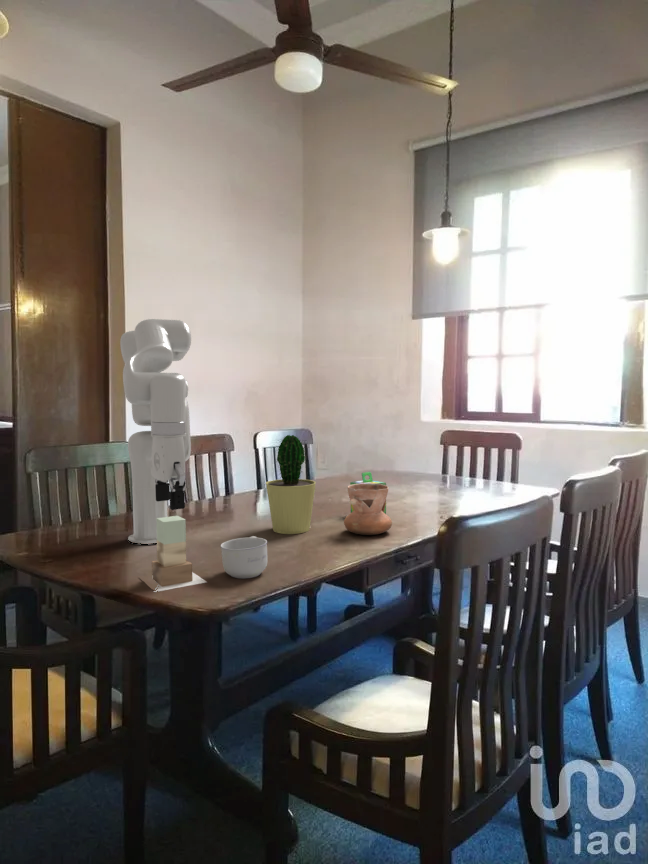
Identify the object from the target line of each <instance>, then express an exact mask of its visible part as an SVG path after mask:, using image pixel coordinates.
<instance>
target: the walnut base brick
mask: <svg viewBox="0 0 648 864" xmlns="http://www.w3.org/2000/svg"><path fill="white" fill-rule="evenodd" d="M192 572H193V563H192V562H190V561H189V560H187V559H186V563H185V564H179V565H173V566H167V567H164V566H163V565H161V564H160V563H158V562H157V560H152V561H151V575H152V579H153V580H155V581H156V582H157V583H158V584H159V585H161V586H162V587H163V586H169V585H174V584H179V583H185V582H190V581H193V580H192Z"/></svg>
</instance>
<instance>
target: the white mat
mask: <svg viewBox="0 0 648 864" xmlns="http://www.w3.org/2000/svg"><path fill="white" fill-rule="evenodd" d="M192 580H193V581H190V582H185V583H179V584H174V585H169V586H163V587H162V586H161V585H159V584H158V585H157V587H156V588H155V590H156V589H157V588H158V589H157V590H156V591H153V592H154V593H157V591H158V592H163V591H168V590H173V589H178V588H184V587H189V586H195V585H199V584H200V585H201V584H205V583H207V581H206V580H205V579H203V578H202V577H201V576H199V575H198V574H196V573H195V572H193V571H192ZM156 583H157V582H156ZM158 586H159V587H158Z"/></svg>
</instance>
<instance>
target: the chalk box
mask: <svg viewBox="0 0 648 864" xmlns="http://www.w3.org/2000/svg"><path fill="white" fill-rule="evenodd" d="M366 476H368V477H369V478H368V479H367V478H366ZM361 478H362V480H355V481H351V482H350V483H349V485H352V484H361V483H372V484H375V483H377V484H382V485H386V486H387V483H386V482H384V481H379V480H373V476H372V472H371V471H365V472H362V473H361ZM353 511H354V507H353V505H351V504H350V513H352V512H353ZM384 513H385V514H386V515H387V503H386V504H385V509H384Z"/></svg>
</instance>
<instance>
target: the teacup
mask: <svg viewBox="0 0 648 864" xmlns="http://www.w3.org/2000/svg"><path fill="white" fill-rule="evenodd" d="M267 544H268V540H267V539H265V538H262V537H257V536H256V535H255V536H254V535H252V536H249V537H238V538H233V539H229V540H226V541H224V542H222V543H221V544H220V549H221V558H222V566H223V570H224V572H225V573H226V574H227V575H229V576H231V577H232V578H236V579H251V578H256V577H258V576H260V575H261V574H262V573H263V572H264V570H265V569H266V568H267V566H268V545H267Z"/></svg>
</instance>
